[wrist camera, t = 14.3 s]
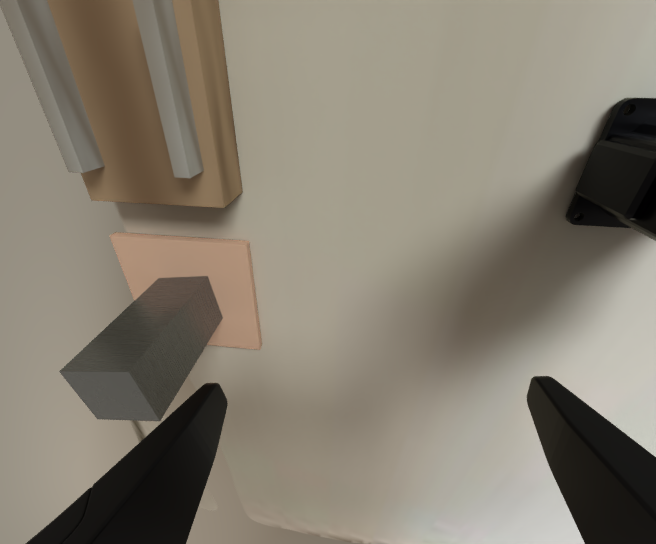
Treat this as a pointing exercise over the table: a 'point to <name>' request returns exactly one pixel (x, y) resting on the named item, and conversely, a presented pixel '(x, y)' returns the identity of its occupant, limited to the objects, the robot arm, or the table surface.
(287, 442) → the table surface
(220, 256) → the rubber mat
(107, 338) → the dark gray rectangular block
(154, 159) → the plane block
